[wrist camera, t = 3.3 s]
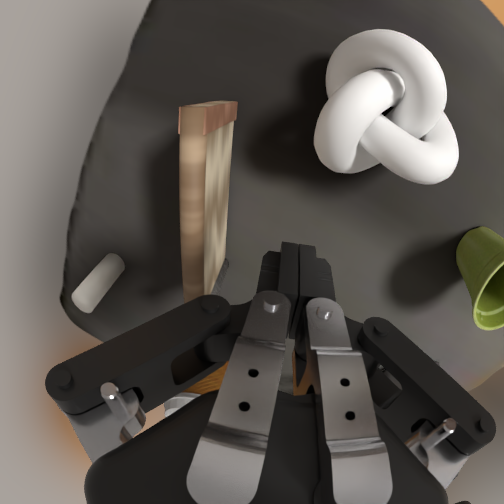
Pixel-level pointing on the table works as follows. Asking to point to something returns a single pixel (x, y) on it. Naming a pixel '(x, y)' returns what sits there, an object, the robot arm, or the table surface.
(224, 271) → the translucent grey rod
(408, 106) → the white decorative knot
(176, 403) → the disposable coffee cup
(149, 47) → the table surface
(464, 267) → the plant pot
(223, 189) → the brown flat block
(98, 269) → the post
